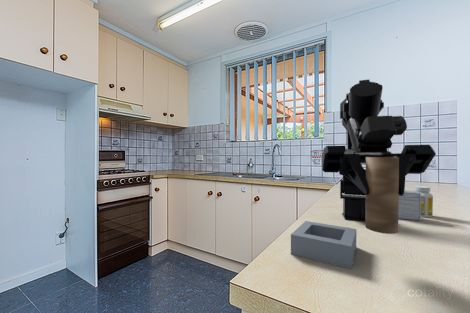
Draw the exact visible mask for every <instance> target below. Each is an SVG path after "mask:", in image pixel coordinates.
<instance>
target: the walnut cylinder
mask: <svg viewBox="0 0 470 313" xmlns="http://www.w3.org/2000/svg"><path fill="white" fill-rule="evenodd" d="M365 169H366V181H367V183H368V188H369V194H368V195H366V203H365V222H364V223H365V224H364V225H365V226H364V227H365V228H366V229H367V230H369V231H372V232H376V233H378V234H379V233H380V234H385V235H387V234H388V235H391V234H392V235H394V234H398V233H399V219H398V217H399V157H366V165H365Z"/></svg>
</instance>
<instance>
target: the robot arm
mask: <svg viewBox="0 0 470 313" xmlns="http://www.w3.org/2000/svg"><path fill="white" fill-rule="evenodd" d="M382 93H383V85H382V84H380V83H378V82H374V81H370V78H369V79H368V78H367V79H362V80H359V81H358V83H356V84H354V85H353V86H351V87H350V88H349V92H348V93H345V98H344V99H343V100H342V102H340V103H339V119H340V120H341V125H342V126H343V128H345V130H346V145H326V146H325V147H324V148H322V149H323V150H322V158H321V170H322V172H324V173H339V175H340V176H342V179H340V183H339V194H340V195H339V197H340V198H339V199H340V200H341V199H342V213H341V215H342V217H343V219H344V220H353V221H365V203H366V195H368V194H369V188H368V183H367V181H366V168H364V167H363V165H364V166H366V157H399V195H400V196H403V194H404V190H405V187H406V176H407V175H408V174H409V175H410V174H411V175H412V174H414V175H419V174H420V175H421V174H423V173H425V172H426V170H427V169H428V167H429V166H430V164H431V163H432V161H433V160H434V157H436V155H437V153H436V152H435V150H434V148H433V147H432V145H430V144H404V146H403V148H402V151H401V153H398V152H397V153H392V151H389V150H388V149H391V148H392V146H393V142H392V140H391V139H392V138H393V137H394V136H401V135H403V134H404V133H405V132H406V130H407V129H408V125H407V121H406V119H405V118H404V117H403V115H379V114H380V112H381V111H382V110H383V109H384V106H385V104H384V103H385V102H384V101H383V100H382ZM346 147H347V148H346Z"/></svg>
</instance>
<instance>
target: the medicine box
mask: <svg viewBox="0 0 470 313" xmlns="http://www.w3.org/2000/svg"><path fill="white" fill-rule="evenodd" d="M399 219H400V220H411V221H421V219H422V217H421V193H419V192H417V191H415V190H409V189H408V190H407V189H406V190H404V194H403V196H400V195H399V217H398V220H399Z"/></svg>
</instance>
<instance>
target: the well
mask: <svg viewBox="0 0 470 313" xmlns="http://www.w3.org/2000/svg"><path fill="white" fill-rule="evenodd" d="M356 251H357V228H352V227H345V226H340V225H334V224H327V223H321V222H315V221H309V220H305V221H304V222H302V224H300V225H299V227H297V228H296V229H295V230H294V231H293V232H292V233H291V234H290V255H293V256H298V257H301V258H306V259H310V260H315V261H317V262H321V263H326V264H330V265H335V266H338V267H342V268H347V269H351V270H352V268H353V264H354V259H355V254H356Z"/></svg>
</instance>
